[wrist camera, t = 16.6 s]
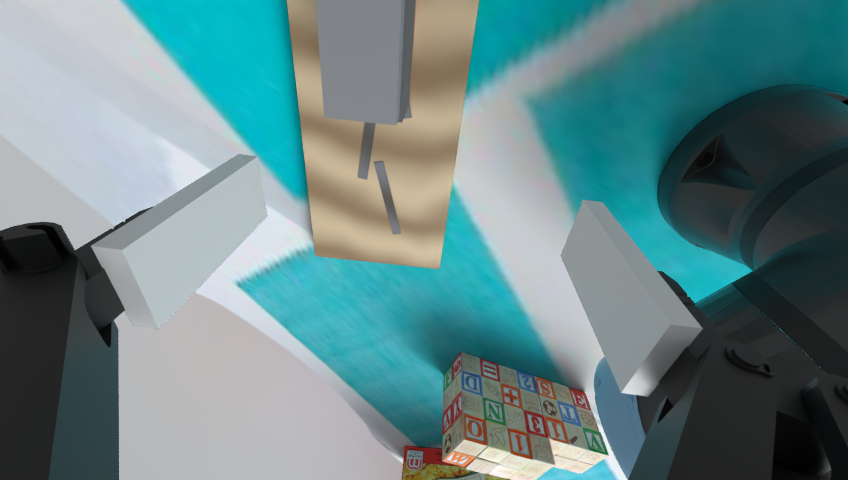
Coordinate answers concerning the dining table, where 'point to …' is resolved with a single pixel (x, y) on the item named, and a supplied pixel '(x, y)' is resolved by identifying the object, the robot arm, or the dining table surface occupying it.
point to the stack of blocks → (515, 422)
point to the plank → (386, 145)
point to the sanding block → (366, 58)
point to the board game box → (436, 467)
